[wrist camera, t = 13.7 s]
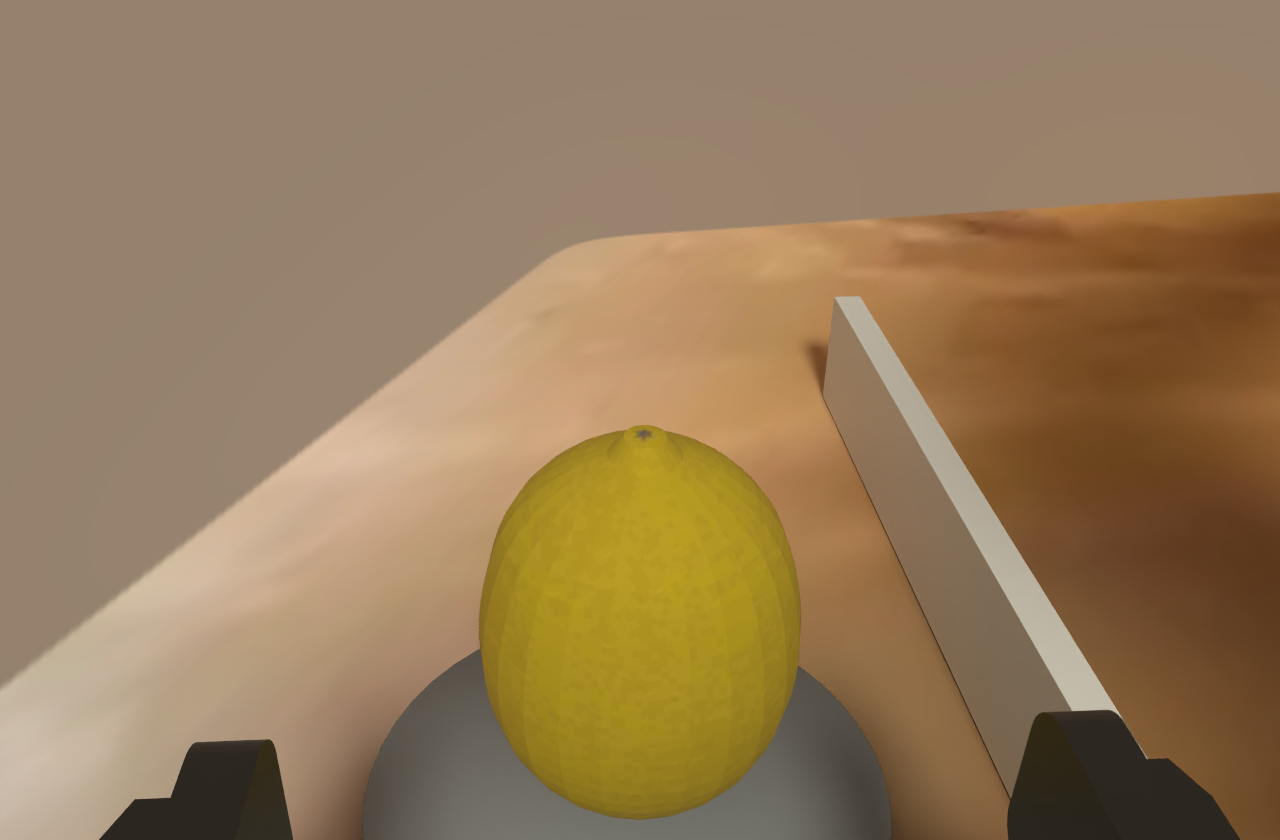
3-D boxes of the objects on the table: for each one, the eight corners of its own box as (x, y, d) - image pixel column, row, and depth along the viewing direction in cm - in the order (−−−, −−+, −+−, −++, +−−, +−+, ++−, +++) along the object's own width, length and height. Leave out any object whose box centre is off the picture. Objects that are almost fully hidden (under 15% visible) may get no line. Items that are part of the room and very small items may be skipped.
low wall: (846, 395, 36) (860, 296, 34) (1269, 1231, 16) (1355, 1094, 14) (822, 395, 36) (834, 296, 34) (1214, 1236, 16) (1295, 1099, 14)
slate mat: (820, 625, 26) (823, 605, 26) (962, 1039, 18) (968, 1017, 18) (394, 643, 26) (392, 622, 25) (327, 1087, 17) (323, 1065, 17)
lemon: (502, 686, 24) (483, 351, 20) (761, 684, 24) (795, 351, 20) (476, 919, 19) (444, 539, 15) (801, 915, 19) (857, 539, 15)
